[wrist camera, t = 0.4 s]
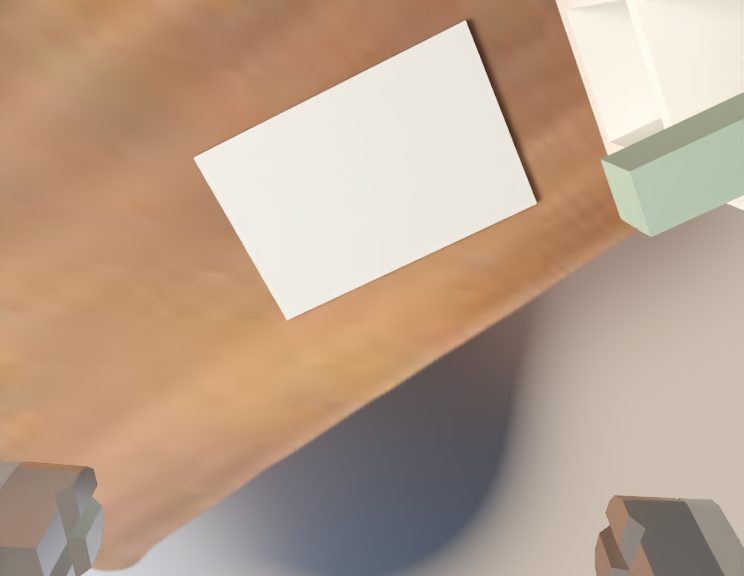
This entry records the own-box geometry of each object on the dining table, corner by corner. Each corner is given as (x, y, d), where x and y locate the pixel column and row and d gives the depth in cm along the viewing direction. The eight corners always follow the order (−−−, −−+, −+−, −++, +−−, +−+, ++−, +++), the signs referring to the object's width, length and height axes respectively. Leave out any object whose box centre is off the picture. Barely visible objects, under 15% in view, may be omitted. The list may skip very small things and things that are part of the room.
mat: (287, 317, 58) (287, 320, 58) (194, 156, 53) (193, 157, 52) (534, 202, 56) (537, 203, 55) (464, 20, 51) (465, 20, 50)
